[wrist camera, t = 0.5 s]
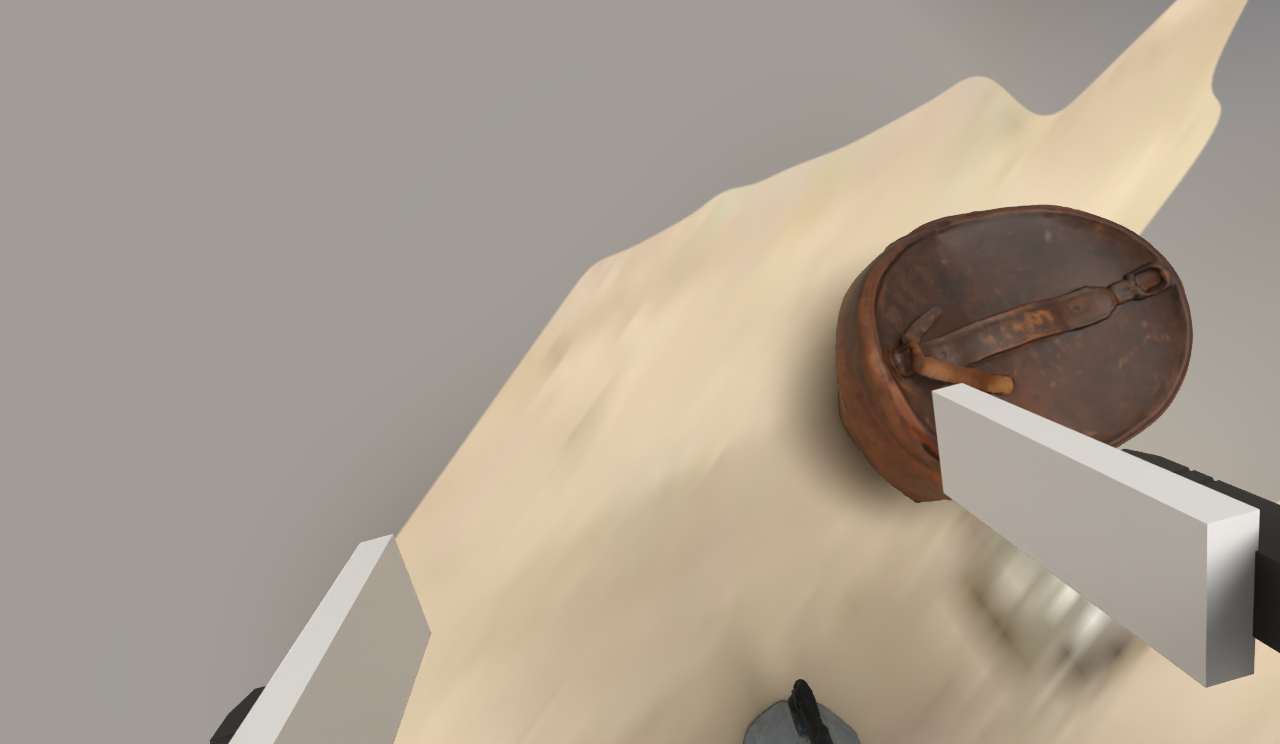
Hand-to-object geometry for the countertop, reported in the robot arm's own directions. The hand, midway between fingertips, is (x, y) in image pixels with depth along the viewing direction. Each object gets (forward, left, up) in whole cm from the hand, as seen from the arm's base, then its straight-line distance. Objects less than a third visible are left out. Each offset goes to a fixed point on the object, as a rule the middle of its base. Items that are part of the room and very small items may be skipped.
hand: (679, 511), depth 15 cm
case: (-4, -22, -35) cm, 42 cm away
